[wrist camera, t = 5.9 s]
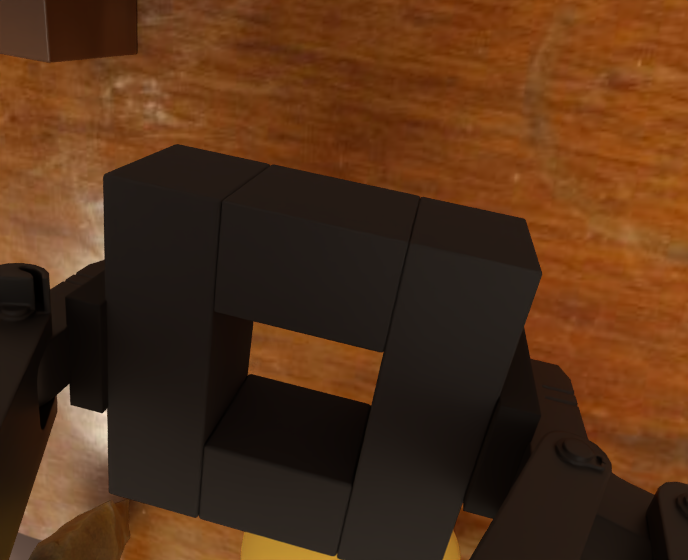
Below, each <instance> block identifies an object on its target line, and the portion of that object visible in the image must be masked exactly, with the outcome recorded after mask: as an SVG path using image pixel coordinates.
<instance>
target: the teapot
mask: <svg viewBox="0 0 688 560" xmlns="http://www.w3.org/2000/svg"><path fill="white" fill-rule="evenodd" d="M460 559H461V557H460V549H459V544H458V541H457V538H456V535H455V533H454V530H453V532H452V535H451V537H450V540H449V543H448V546H447V549H446V552H445V555H444V558H443V560H460ZM241 560H340V559H338V558H337V554H336V555H335V556H329V555H325V554H322V553H318V552H315V551H311V550H308V549H304V548H301V547H297V546H294V545H290V544H287V543H283V542H280V541H276V540H273V539H269V538H266V537H262V536H259V535H255V534H252V533H248V532H245V531H244V536H243V541H242V549H241Z"/></svg>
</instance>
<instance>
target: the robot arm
mask: <svg viewBox="0 0 688 560" xmlns="http://www.w3.org/2000/svg"><path fill="white" fill-rule="evenodd" d="M68 384H70V403H71V405H73V406H77V407H81V408H85V409H88V410H92V411H96V412H99V413H103V412H104V411H105V410H106V409H107V408H108V355H107V300H105V260H103V261H99V262H96V263H93V264H89V265H88V266H86V267H85V268H83V269H82V270H80V271H78V272H77V273H76V275H72V276H71V277H69V278H68V279H66V281H65V282H64V281H63V282H61V283H60V284H58V285H57V286H55V287H53V288H52V289H50V283H49V273H48V272H47V271H46V270H45V269H44V268H42V267H39V266H36V265H32V264H25V263H8V264H2V265H0V560H9V557H10V554H11V551H12V548H13V545H14V542H15V539H16V536H17V533H18V530H19V527H20V524H21V521H22V518H23V515H24V512H25V509H26V506H27V503H28V499H29V496H30V493H31V490H32V487H33V484H34V481H35V478H36V475H37V472H38V469H39V466H40V463H41V460H42V457H43V454H44V451H45V448H46V445H47V441H48V438H49V435H50V432H51V429H52V426H53V423H54V420H55V417H56V414H57V394H58V393H60V392H61V391H62V390H63V389H64V388H65V387H66V386H67V385H68ZM463 511H466V512H470V513H474V514H477V515H481V516H485V517H488V518H492V519H493V521H492V522H491V524H490V526H489V527H488V529H487V531H486V532H485V534H484V536H483V537H482V539H481V541H480V542H479V544H478V546H477V548H476V549H475V551H474V553H473V554H472V556H471V558H470V559H469V560H688V484H684V483H680V482H666V483H664V484H663V485H662V486H660V487H659V488H658V490H657V492H656V494H655V495H654V494H652V493H649V492H647V491H645V490H643V489H641V488H639V487H637V486H635V485H632V484H630V483H628V482H626V481H625V480H623V479H621V478H619V477H617V476H616V475H615V474H613V473H612V466H611V462H610V460H609V458H608V457H607V455H606V454H605V453H604V452H603V451H602V450H601V449H600V448H599V447H598V446H597V445H596V444H594V443H593V442H591V441H589V440H588V437H587V434H586V431H585V427H584V424H583V421H582V417H581V414H580V410H579V407H577V400H576V397H575V395H574V390H573V387H572V384H571V380H570V379H569V377H568V376H567V375H566V374H565V373H564V372H563V371H562V369H561V368H560V367H559V366H558V365H554V364H550V363H546V362H542V361H538V360H533V359H530V355H529V350H528V345H527V340H526V335H525V330H524V328H523V331H522V334H521V336H520V339H519V342H518V345H517V348H516V351H515V354H514V357H513V359H512V362H511V365H510V368H509V371H508V374H507V377H506V380H505V382H504V385H503V388H502V391H501V394H500V397H499V399H498V402H497V405H496V408H495V411H494V414H493V417H492V420H491V422H490V425H489V428H488V431H487V434H486V437H485V440H484V443H483V445H482V448H481V451H480V454H479V457H478V460H477V463H476V466H475V468H474V471H473V474H472V477H471V480H470V483H469V486H468V489H467V491H466V494H465V497H464V500H463Z"/></svg>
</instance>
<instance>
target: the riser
mask: <svg viewBox="0 0 688 560" xmlns="http://www.w3.org/2000/svg"><path fill="white" fill-rule="evenodd" d="M0 54H4V55H10V56H15V57H21V58H26V59H32V60H37V61H43V62H48V63H51V62H62V61H72V60H82V59H92V58H102V57H113V56H123V55H133V54H137V18H136V0H0Z"/></svg>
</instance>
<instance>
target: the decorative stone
mask: <svg viewBox="0 0 688 560" xmlns="http://www.w3.org/2000/svg"><path fill="white" fill-rule="evenodd" d="M128 506H129V499H126V500H124V501H121V502H118V503H115V504H114V502H113V500H111V501H108V502H106V503H104V504H102V505H100V506H98V507H96V508H94V509H92V510H90V511H87V512H85V513H83V514H81V515H78V516H77V517H75V518H74V519H72V520H71V521H69V522H67V523H66V524H64V525H63V526H62V527H60V528H59V529H58V530H57V531H56V532H55V533H54V534H52V535H51V536H50V537H48V538H46V539H45V540H43V541H41V542H40V543H38V545H37V546H36V548H35V550H34V551H33V552H32V554H31V556H30V558H29V560H120V558H121V555H122V552H123V550H124V546H125V545H126V543H127V542H128V540H129V539H130V531H129V525H128V521H129V507H128Z"/></svg>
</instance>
